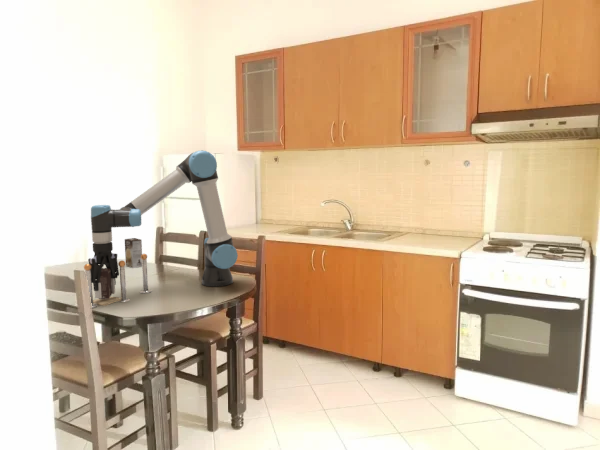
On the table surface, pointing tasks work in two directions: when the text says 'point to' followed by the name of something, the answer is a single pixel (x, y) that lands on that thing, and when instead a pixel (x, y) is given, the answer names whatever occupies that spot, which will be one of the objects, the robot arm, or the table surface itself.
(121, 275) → the corner post
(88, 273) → the end post
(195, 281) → the table surface
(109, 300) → the pad
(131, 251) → the coffee box
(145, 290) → the gate post
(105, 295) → the box
